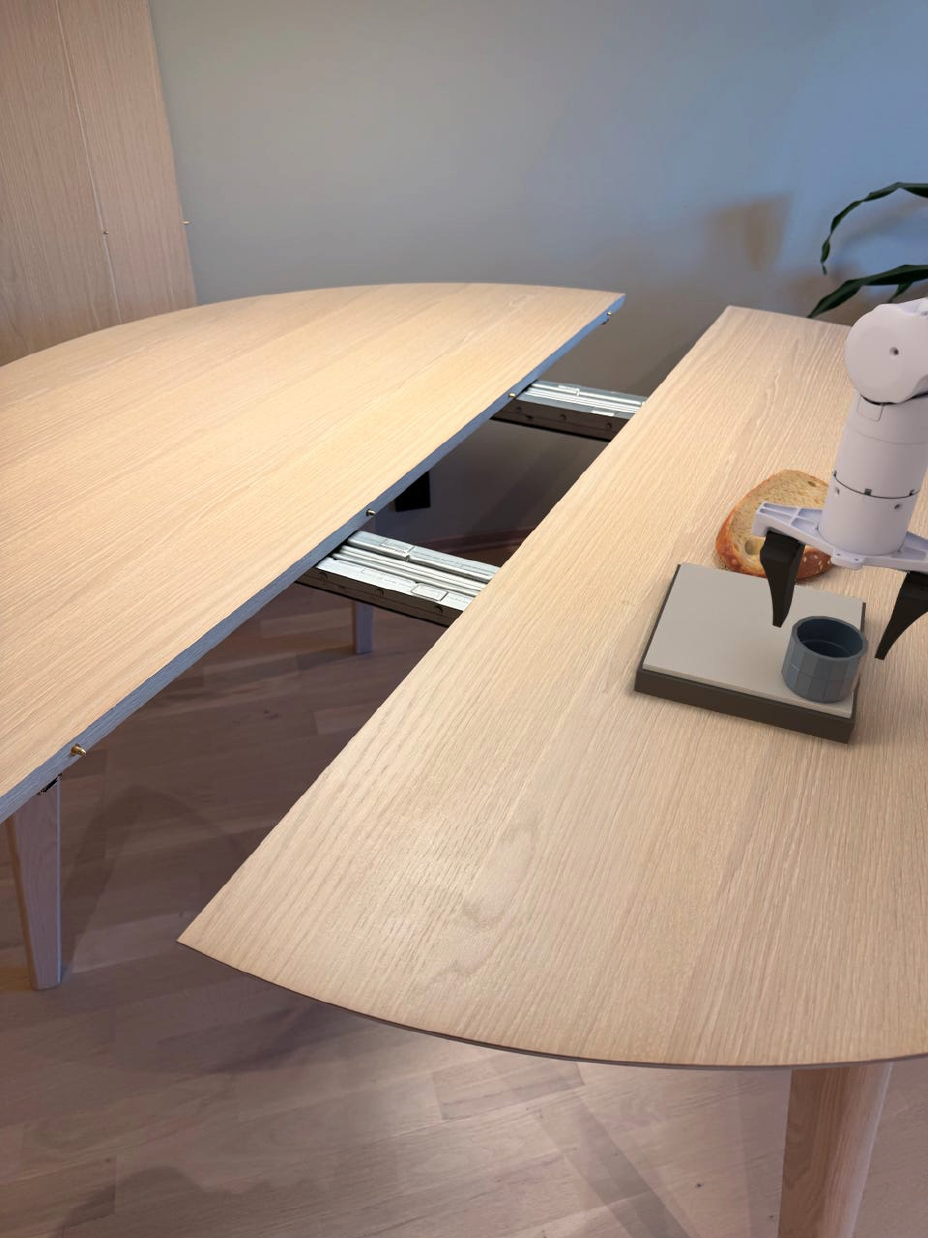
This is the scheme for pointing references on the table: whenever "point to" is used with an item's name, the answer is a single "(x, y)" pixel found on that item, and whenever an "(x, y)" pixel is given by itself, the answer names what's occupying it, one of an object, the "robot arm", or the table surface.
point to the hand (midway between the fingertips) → (829, 635)
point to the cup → (824, 659)
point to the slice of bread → (744, 547)
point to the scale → (740, 650)
